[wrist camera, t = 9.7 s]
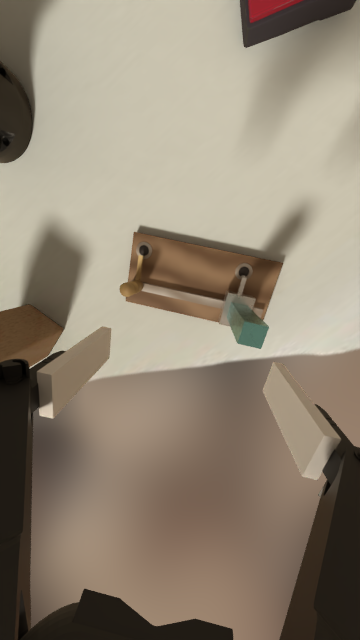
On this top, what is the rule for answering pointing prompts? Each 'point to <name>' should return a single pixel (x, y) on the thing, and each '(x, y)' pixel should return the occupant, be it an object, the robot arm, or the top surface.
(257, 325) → the sliding lever
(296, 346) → the top surface
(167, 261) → the hole plate
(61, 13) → the top surface
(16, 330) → the wooden block
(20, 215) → the top surface
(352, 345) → the top surface
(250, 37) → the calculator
